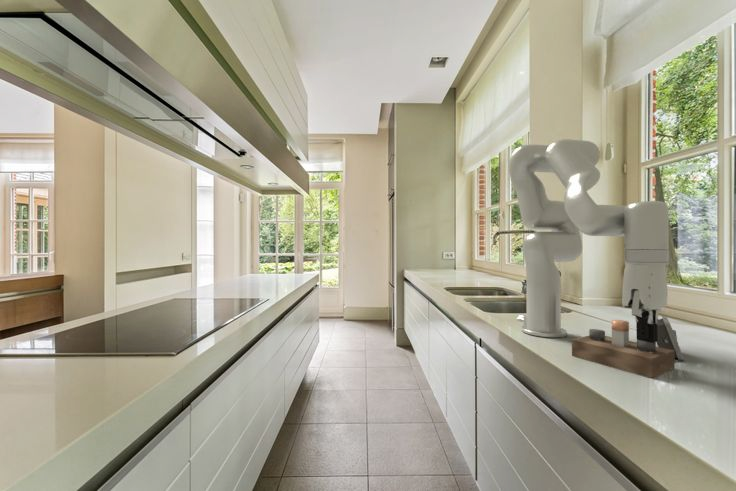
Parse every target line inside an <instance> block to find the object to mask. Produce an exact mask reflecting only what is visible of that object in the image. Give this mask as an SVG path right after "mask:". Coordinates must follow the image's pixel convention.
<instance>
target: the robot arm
mask: <svg viewBox="0 0 736 491" xmlns="http://www.w3.org/2000/svg"><path fill="white" fill-rule="evenodd" d="M600 158H601V151H600V149H599V147H598V146H597V144H595V143H594V142H592V141H590V140H583V139H582V140H581V139H557V140H556V141H553V142H552V143H551V144H549V145H545V144H535V143H534V144H524V145H521V146H518V147H517V148H516V149H515V150H513V151H512V154H511V156H510V158H509V163H508V173H509V177H510V180H511V183H512V186H513V188H514V191H515V194H516V198H517V203H518V208H519V213H520V218H521V221H522V223H523V226H524V227H525V228H527V229H530V230H541V231H536V232H532V233H530V234H528V235H526V237H525V238H524V240H523V241H522V252H523V257H524V261H525V262H524V263H525V274H526V276H525V277H526V278H525V279H526V281H525V282H526V284H525V285H526V315H525V314H524V315H523V314H519V315H518V317H517V318H516V321H517V322H521V323H523V325H521V327H520V328H521V329H520V330H521V331H522V332H523V333H525V334H527V335H531V336H536V337H543V338H563V337H566V336H567V333H568V331H567V330H566V329H564V328H563V327H562V314H561V313H562V305H561V304H562V302H561V301H562V297H561V296H562V295H561V294H562V292H561V291H562V290H561V286H562V284H561V283H562V282H561V274H560V271H559V269H558V268H557V267H558V266H557V265H556V264H555V263H568V262H573V261H576V260H577V259H578V258H580V256H581V254H583V241H582V236H581V234H580V232H581V233H582V234H584V235H586V236H590V237H624V238H623V239H624V240H623V241H624V245H623V246H624V264H625V266H624V272H623V279H622V296H621V297H622V298H621V300H622V302H621V306H622V307H623V308H624V309H631V316H634V320H635V322H636V324H635V325H636V330H635V331H636V341H637V340H641V341H646V342H651V343H654V342H656V343H657V341H658V333H657V324H655V323H658V320H659V313H660V312H661V311H662V309H663V308H665V307H666V306H667V304H668V281H667V280H668V279H667V278H668V277H667V270H666V266H670V262H669V261H670V250H669V248H670V244H669V243H670V240H669V238H670V236H669V234H670V233H669V232H670V231H669V228H670V226H669V224H670V223H669V206H668V204H667V203H666V202H663V201H661V200H648V201H637V202H632V203H628V204H627V205H618V204H617V205H616V204H615V205H614V204H597V203H596V202H595V201H594V200H593V198H592V197H591V196H590V194H589V193H588V191H589V190H591V189H592V188H593V187H594V186H596V185H597V184H598V182H599V181H600V178H601V172H600V169H598V168H597V164H598V163H599V161H600ZM535 172H536V173H550V174H551V173H552V174H555V175H556V176H557V178H558V179H559V181H560V182H561V183H562V185H563V186H564V188H565V192H564V195H563V196H564V197H563V200H552V199H551V200H550V199H549V198H548V196H547V193H546V188H545V185H544V184H543V182H542V181H541V179H540V178H539V177H538V176H537V175H536V174H535ZM543 230H550V231H543Z"/></svg>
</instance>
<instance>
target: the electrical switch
mask: <svg viewBox="0 0 736 491" xmlns="http://www.w3.org/2000/svg"><path fill="white" fill-rule="evenodd" d="M655 324H657V333H658V341H657V342H656V346H657V347H661V348H665V349H670V350H675V358H677V360H678V361H684V357H683V354H682V351H681V348H680V346H679V341H678V336H677V331H676V329H673V327H672V325H671V322H670V321H669V318H668V317H667V315H661V318H660V319H659V318H658V323H655Z"/></svg>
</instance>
